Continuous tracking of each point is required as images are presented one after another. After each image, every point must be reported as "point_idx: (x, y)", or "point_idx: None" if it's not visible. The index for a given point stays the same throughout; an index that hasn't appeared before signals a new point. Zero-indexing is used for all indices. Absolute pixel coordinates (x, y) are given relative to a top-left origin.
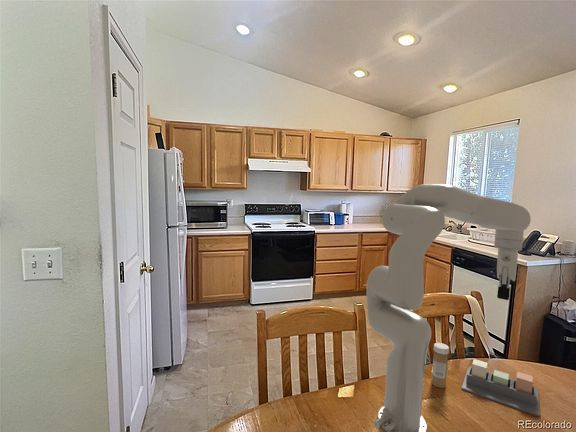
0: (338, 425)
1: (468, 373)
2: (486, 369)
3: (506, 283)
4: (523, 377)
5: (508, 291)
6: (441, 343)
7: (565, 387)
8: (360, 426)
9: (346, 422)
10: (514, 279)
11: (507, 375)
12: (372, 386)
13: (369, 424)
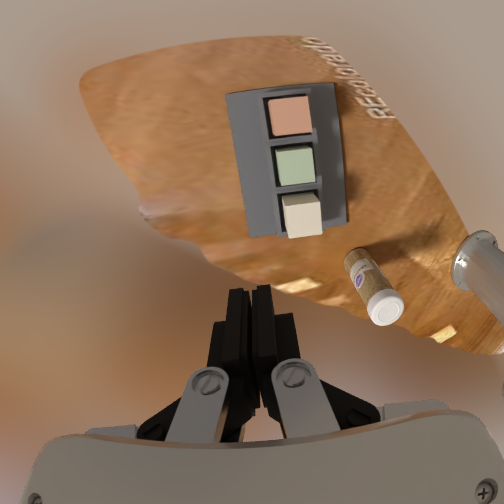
0: None
1: None
2: (309, 200)
3: (376, 415)
4: (298, 117)
5: (273, 336)
6: (375, 316)
7: (147, 61)
8: None
9: None
10: (475, 421)
11: (288, 153)
12: (421, 323)
13: None
